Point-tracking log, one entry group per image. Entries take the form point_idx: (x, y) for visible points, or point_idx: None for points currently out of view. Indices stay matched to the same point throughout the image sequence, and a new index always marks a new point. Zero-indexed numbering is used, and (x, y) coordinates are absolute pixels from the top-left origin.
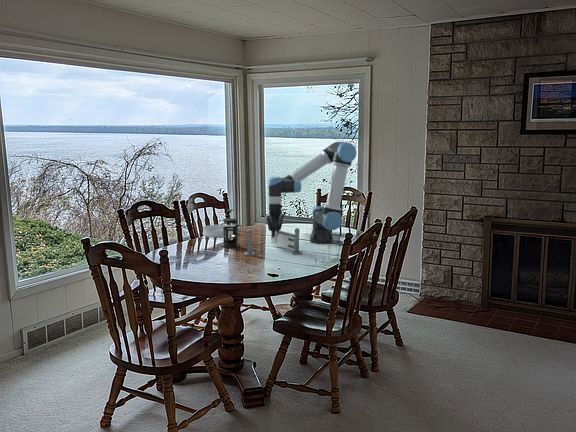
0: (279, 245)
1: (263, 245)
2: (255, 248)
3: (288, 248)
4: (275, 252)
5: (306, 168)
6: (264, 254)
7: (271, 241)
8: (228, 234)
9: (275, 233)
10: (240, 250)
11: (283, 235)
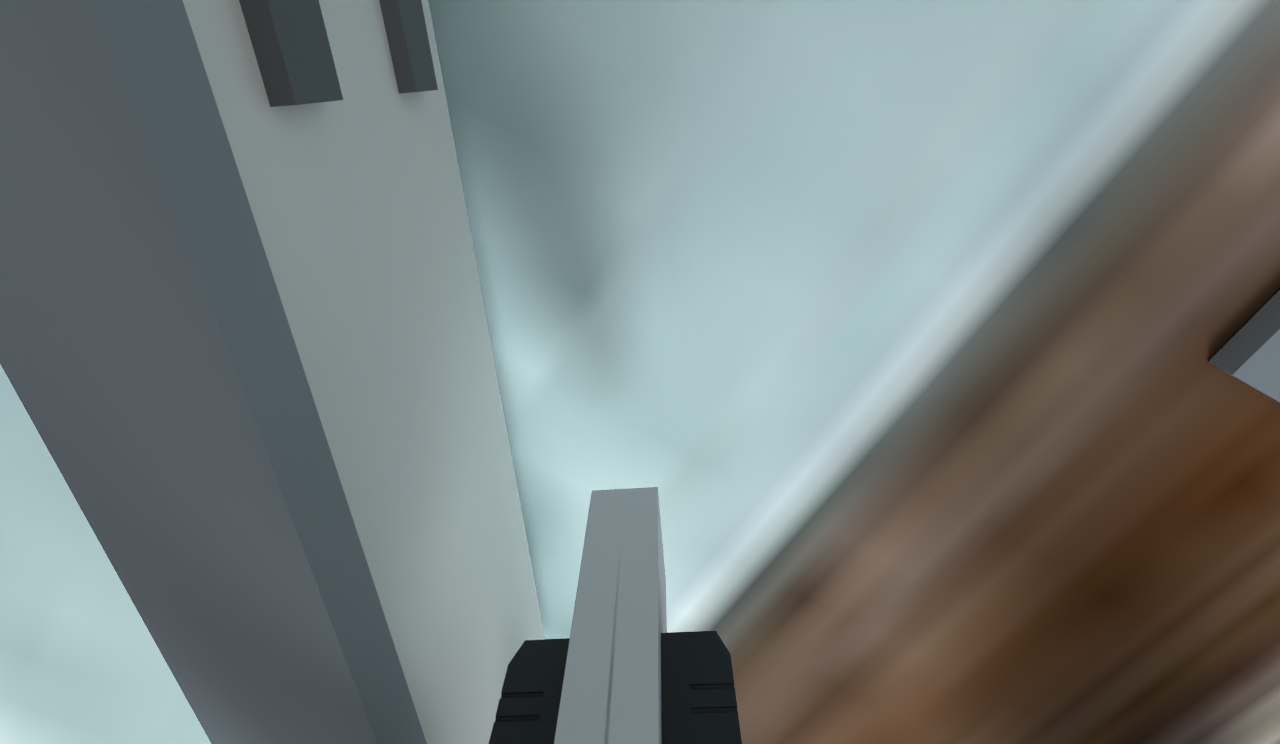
0: (510, 471)
1: None
2: (894, 636)
3: (441, 97)
4: (803, 173)
5: None
6: (1159, 130)
7: None
8: None
9: (644, 725)
10: (1197, 640)
11: (364, 511)
